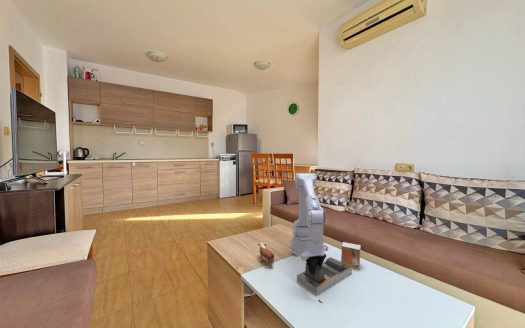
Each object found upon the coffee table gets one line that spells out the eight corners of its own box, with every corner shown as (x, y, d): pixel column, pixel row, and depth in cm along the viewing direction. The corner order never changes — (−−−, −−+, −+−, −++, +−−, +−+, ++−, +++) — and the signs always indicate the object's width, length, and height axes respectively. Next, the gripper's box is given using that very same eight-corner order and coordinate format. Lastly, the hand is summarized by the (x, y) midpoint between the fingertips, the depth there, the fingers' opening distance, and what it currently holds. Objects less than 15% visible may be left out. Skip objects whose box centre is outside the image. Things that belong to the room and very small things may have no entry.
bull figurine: (263, 255, 110) (263, 240, 109) (276, 268, 97) (276, 251, 97) (255, 257, 108) (256, 241, 107) (267, 270, 96) (267, 253, 95)
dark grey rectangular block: (326, 269, 95) (326, 259, 95) (330, 267, 97) (330, 257, 97) (340, 277, 89) (340, 265, 89) (343, 274, 91) (344, 263, 91)
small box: (340, 267, 98) (341, 245, 98) (342, 262, 103) (342, 241, 103) (359, 272, 95) (360, 249, 94) (360, 266, 100) (360, 244, 99)
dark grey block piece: (305, 274, 87) (305, 262, 86) (310, 272, 88) (310, 260, 88) (319, 283, 81) (319, 270, 81) (324, 280, 83) (324, 268, 82)
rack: (296, 284, 86) (296, 274, 86) (331, 265, 100) (332, 257, 100) (316, 297, 78) (316, 287, 78) (351, 275, 92) (351, 266, 92)
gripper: (311, 247, 76) (310, 283, 77) (334, 238, 85) (334, 270, 86) (297, 241, 82) (296, 274, 83) (320, 232, 90) (319, 263, 91)
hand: (314, 272), depth 84 cm, fingers closed on dark grey block piece, 3 cm apart
